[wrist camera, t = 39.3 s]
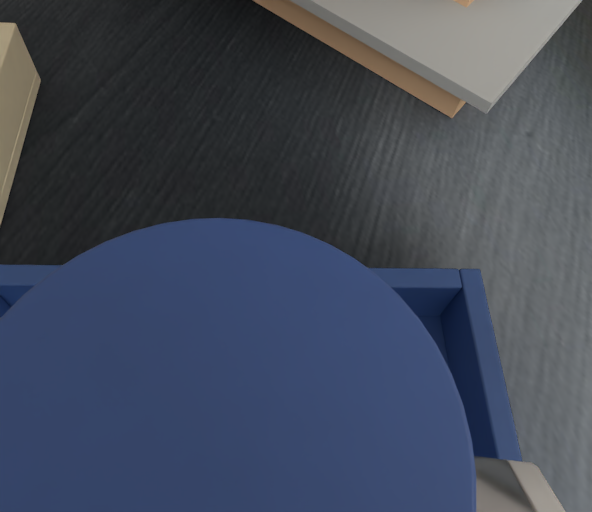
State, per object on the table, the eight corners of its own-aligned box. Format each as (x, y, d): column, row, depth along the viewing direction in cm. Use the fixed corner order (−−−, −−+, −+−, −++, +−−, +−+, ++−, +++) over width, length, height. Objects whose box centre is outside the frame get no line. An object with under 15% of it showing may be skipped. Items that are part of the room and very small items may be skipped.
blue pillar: (109, 646, 11) (-196, 852, 4) (136, 402, 14) (-9, 211, 6) (348, 634, 12) (541, 795, 4) (333, 400, 14) (433, 218, 7)
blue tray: (-127, 846, 10) (-230, 926, 8) (8, 303, 16) (-31, 263, 13) (540, 795, 11) (611, 855, 9) (450, 305, 17) (480, 267, 14)
